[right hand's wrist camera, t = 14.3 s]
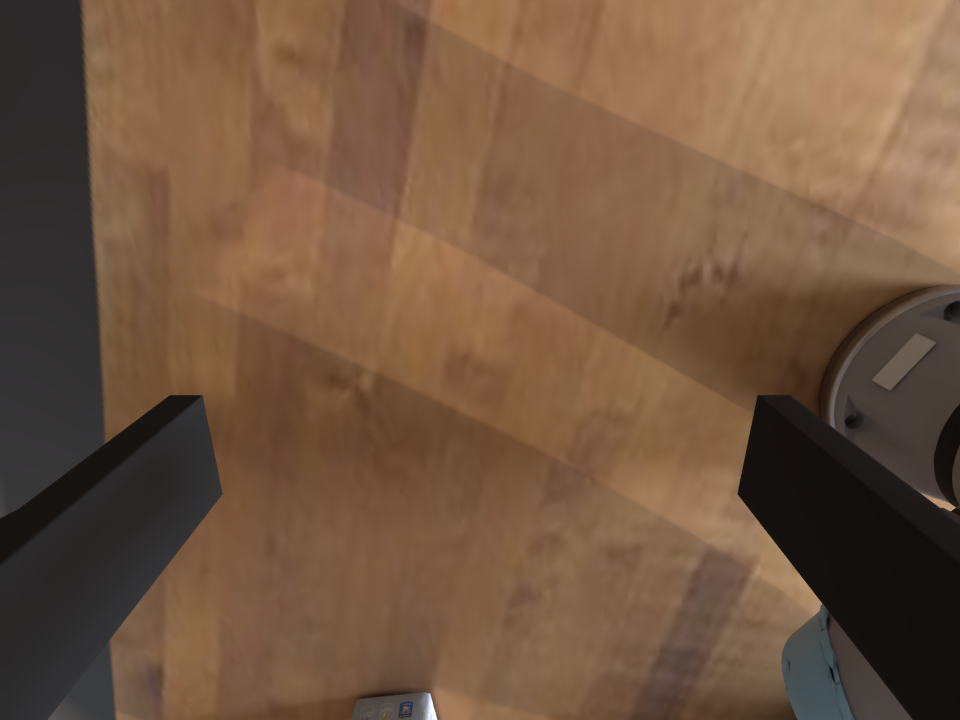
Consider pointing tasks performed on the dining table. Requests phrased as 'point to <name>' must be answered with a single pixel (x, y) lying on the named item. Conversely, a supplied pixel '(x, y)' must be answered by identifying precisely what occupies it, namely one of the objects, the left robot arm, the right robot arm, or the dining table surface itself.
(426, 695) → the hard drive box
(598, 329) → the dining table surface
